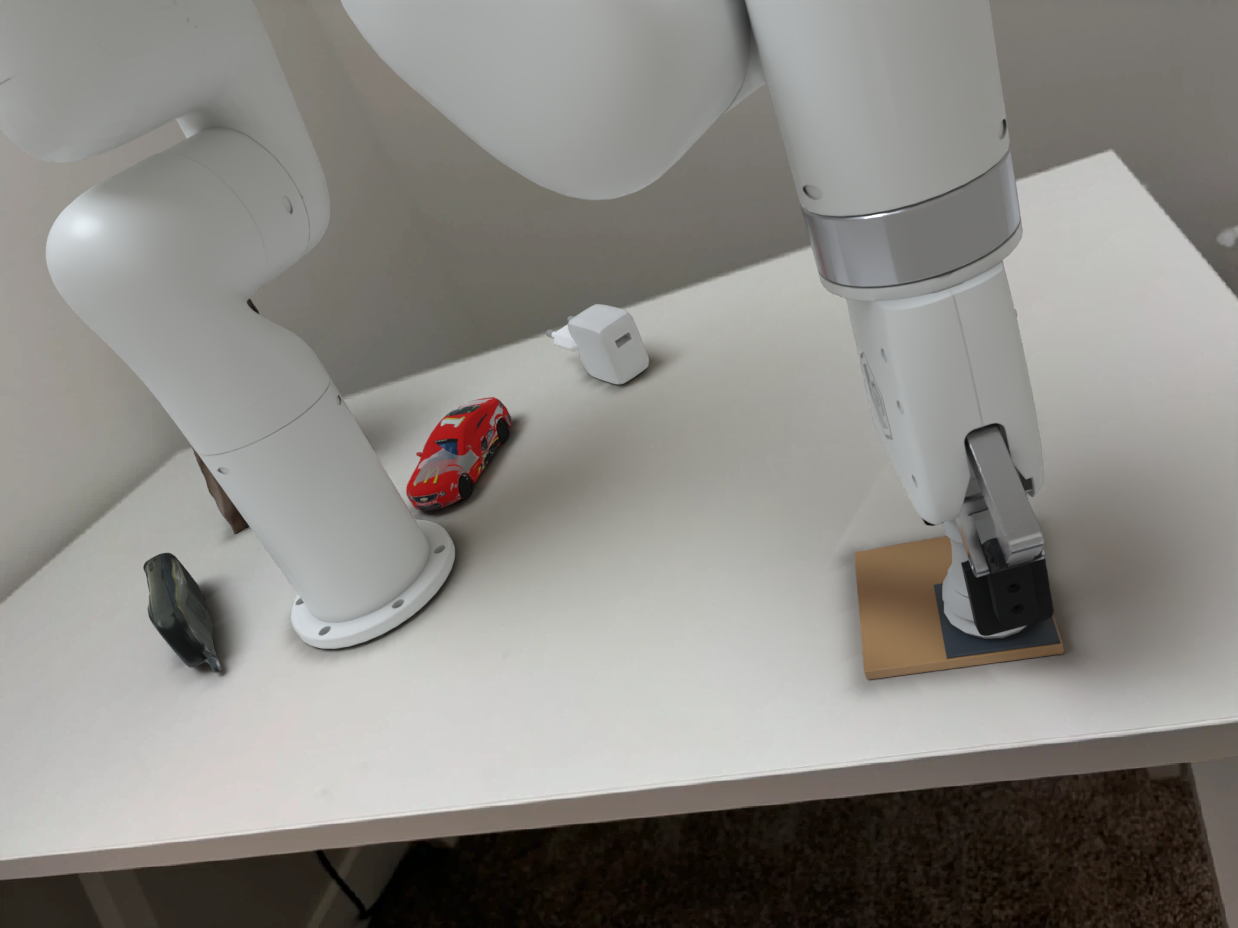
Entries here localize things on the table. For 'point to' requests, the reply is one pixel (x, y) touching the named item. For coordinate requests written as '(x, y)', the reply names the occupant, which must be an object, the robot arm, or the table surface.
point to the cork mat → (927, 616)
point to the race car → (458, 453)
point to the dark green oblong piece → (180, 611)
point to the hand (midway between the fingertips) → (982, 563)
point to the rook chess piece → (954, 582)
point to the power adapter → (604, 343)
